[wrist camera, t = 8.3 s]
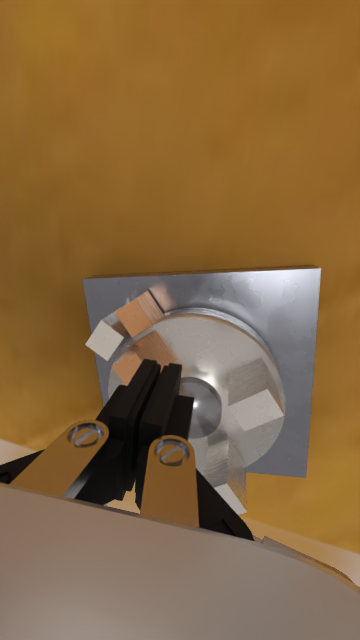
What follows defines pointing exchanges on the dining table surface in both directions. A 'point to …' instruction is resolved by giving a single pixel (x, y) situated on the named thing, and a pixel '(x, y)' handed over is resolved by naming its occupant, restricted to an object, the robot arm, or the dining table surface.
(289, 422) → the base plate
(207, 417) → the round disc with cubes
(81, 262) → the dining table surface
